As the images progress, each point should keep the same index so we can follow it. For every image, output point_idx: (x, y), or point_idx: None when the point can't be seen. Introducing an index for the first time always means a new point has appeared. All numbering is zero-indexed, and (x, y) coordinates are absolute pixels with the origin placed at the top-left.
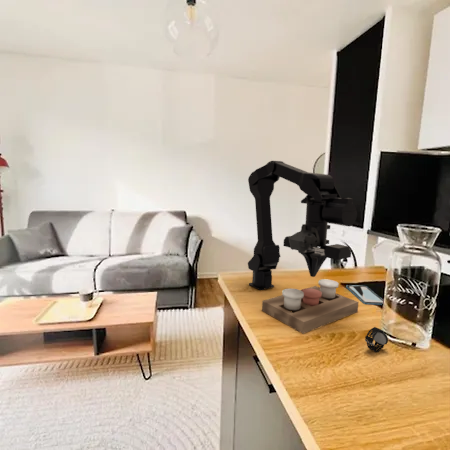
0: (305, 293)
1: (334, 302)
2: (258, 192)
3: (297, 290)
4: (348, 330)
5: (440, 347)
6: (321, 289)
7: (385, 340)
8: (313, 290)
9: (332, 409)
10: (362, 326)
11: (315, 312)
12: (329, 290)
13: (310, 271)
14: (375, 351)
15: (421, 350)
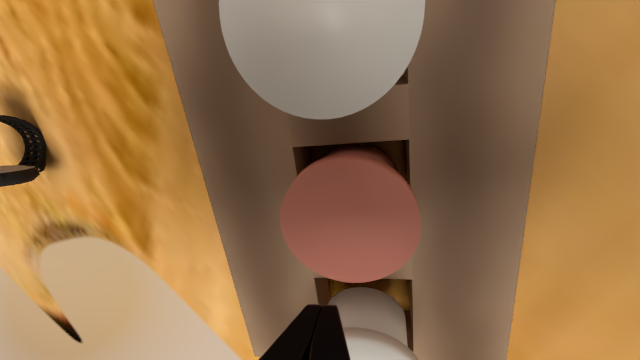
0: (344, 172)
1: (288, 280)
2: None
3: (335, 92)
4: (160, 174)
5: (40, 300)
6: (373, 318)
7: None
8: (361, 257)
9: None
10: (174, 241)
11: (223, 106)
12: None
13: (320, 341)
14: (10, 125)
15: (28, 251)
